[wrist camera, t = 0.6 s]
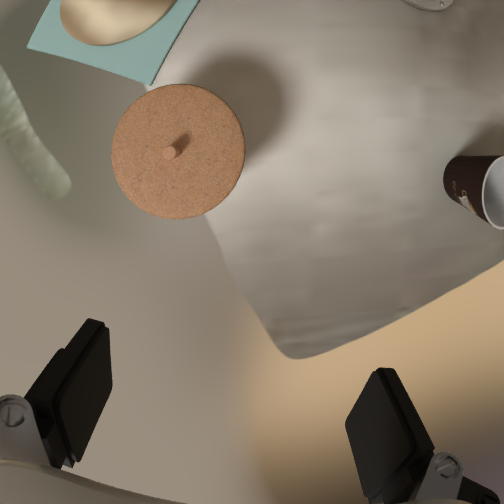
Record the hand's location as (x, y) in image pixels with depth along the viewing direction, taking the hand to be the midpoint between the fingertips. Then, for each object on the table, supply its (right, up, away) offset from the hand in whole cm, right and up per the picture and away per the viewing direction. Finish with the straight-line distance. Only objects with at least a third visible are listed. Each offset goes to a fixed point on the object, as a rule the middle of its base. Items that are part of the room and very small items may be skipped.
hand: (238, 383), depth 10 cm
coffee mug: (+30, +13, +27) cm, 42 cm away
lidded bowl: (-6, +16, +26) cm, 31 cm away
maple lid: (-16, +38, +17) cm, 45 cm away
